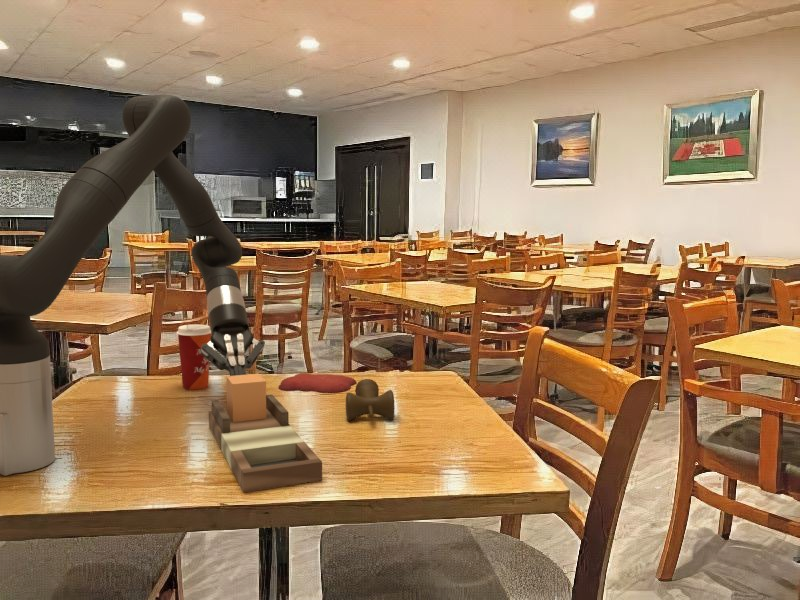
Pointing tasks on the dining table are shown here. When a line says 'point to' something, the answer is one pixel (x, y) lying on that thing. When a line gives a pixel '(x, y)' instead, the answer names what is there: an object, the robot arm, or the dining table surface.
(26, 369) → the robot arm
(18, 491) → the dining table surface
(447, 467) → the dining table surface
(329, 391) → the patty
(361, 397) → the kendama
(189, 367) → the paper cup
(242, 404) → the block
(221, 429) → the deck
